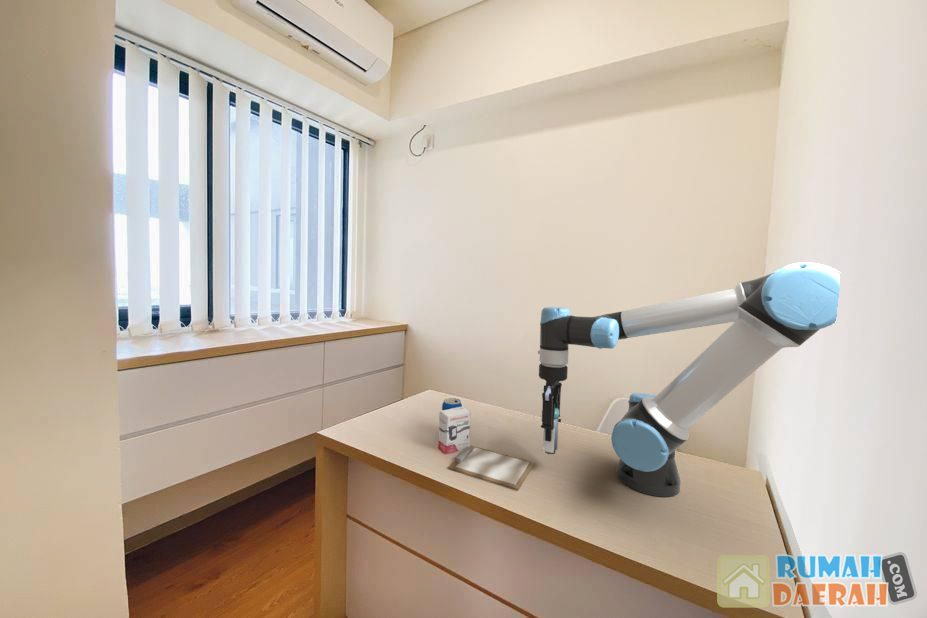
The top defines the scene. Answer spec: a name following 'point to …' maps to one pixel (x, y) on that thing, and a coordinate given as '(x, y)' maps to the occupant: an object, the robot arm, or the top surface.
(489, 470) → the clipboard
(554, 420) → the marker
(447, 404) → the beverage can
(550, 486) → the top surface
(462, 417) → the ink box
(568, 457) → the top surface
